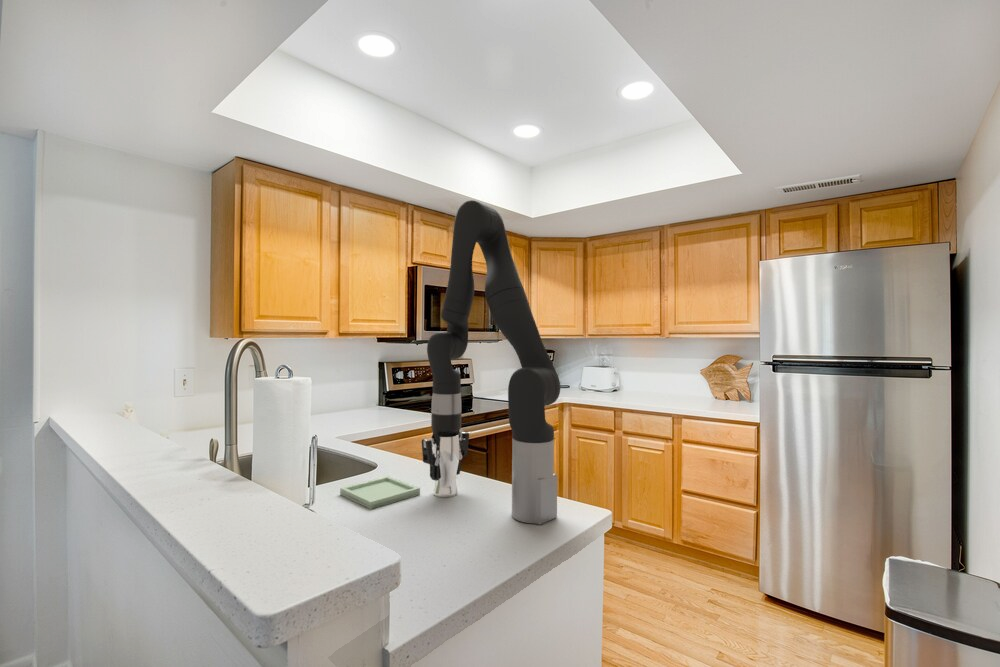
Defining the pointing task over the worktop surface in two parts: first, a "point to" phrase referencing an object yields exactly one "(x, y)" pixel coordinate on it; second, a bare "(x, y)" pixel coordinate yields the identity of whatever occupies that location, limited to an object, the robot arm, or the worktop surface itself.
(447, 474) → the beer glass
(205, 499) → the worktop surface
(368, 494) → the tray
